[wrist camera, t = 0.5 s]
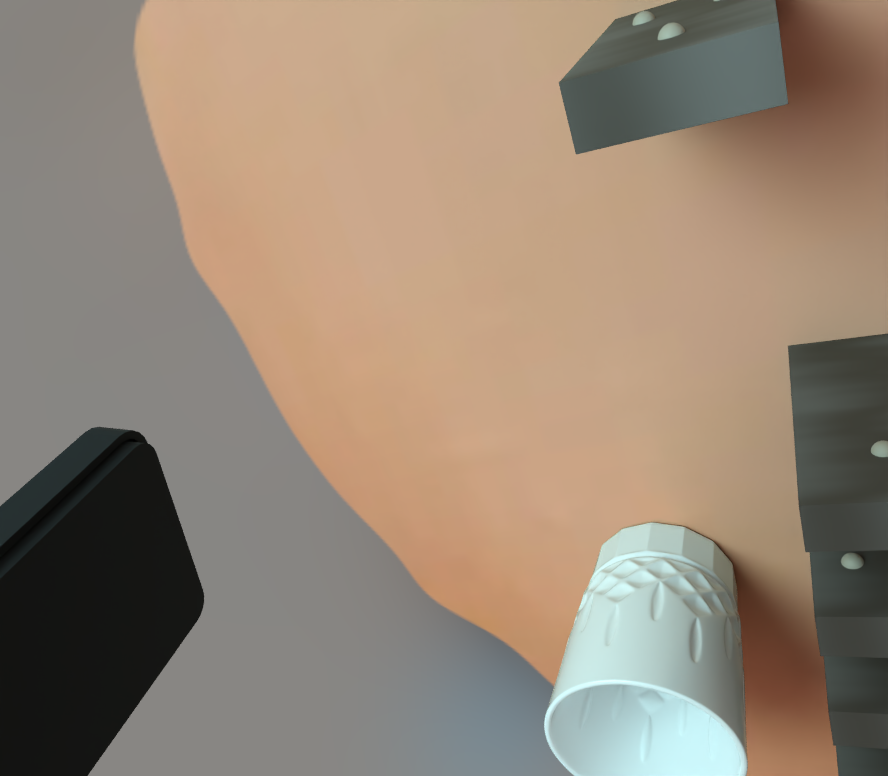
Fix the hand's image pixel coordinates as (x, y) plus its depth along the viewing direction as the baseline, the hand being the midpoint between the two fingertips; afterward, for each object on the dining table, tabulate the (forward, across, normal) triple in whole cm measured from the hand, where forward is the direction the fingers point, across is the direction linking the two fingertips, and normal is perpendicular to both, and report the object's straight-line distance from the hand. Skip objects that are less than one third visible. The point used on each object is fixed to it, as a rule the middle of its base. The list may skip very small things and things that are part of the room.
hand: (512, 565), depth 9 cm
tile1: (+24, -8, +10) cm, 27 cm away
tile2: (+24, -9, +14) cm, 29 cm away
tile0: (+24, -1, -2) cm, 24 cm away
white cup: (+24, -1, +23) cm, 33 cm away
